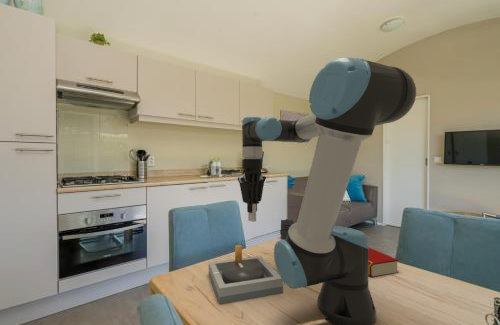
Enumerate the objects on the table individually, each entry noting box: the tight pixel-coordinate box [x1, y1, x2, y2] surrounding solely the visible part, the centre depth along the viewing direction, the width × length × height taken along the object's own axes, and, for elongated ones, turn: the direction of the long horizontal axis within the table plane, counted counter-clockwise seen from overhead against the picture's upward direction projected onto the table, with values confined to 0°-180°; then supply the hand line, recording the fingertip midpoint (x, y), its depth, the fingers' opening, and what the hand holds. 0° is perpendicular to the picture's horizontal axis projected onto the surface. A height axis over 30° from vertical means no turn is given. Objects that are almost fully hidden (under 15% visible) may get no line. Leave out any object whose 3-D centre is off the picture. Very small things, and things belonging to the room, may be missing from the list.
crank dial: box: [222, 244, 264, 284], centre depth 85 cm, size 14×14×8 cm
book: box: [368, 247, 399, 278], centre depth 100 cm, size 18×13×5 cm
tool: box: [279, 218, 294, 240], centre depth 110 cm, size 6×19×15 cm, turn 174°
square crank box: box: [208, 255, 284, 305], centre depth 85 cm, size 20×20×5 cm
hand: (252, 220), depth 95 cm, fingers closed
